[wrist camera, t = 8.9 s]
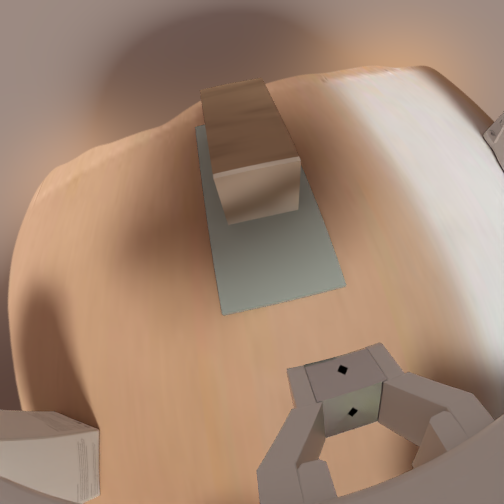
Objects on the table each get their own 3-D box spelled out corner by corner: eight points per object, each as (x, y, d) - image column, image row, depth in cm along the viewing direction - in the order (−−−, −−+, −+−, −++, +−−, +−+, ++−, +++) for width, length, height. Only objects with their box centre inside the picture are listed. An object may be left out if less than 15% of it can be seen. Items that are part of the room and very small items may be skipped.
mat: (195, 129, 36) (195, 127, 36) (276, 112, 36) (276, 110, 36) (223, 315, 25) (222, 314, 25) (345, 286, 25) (346, 285, 25)
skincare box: (56, 410, 22) (-67, 392, 8) (104, 429, 21) (-31, 432, 7) (56, 476, 18) (-56, 487, 4) (104, 500, 17) (-11, 538, 3)
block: (228, 225, 28) (211, 134, 35) (298, 209, 28) (265, 123, 35) (213, 178, 22) (199, 90, 28) (300, 160, 22) (261, 77, 28)
